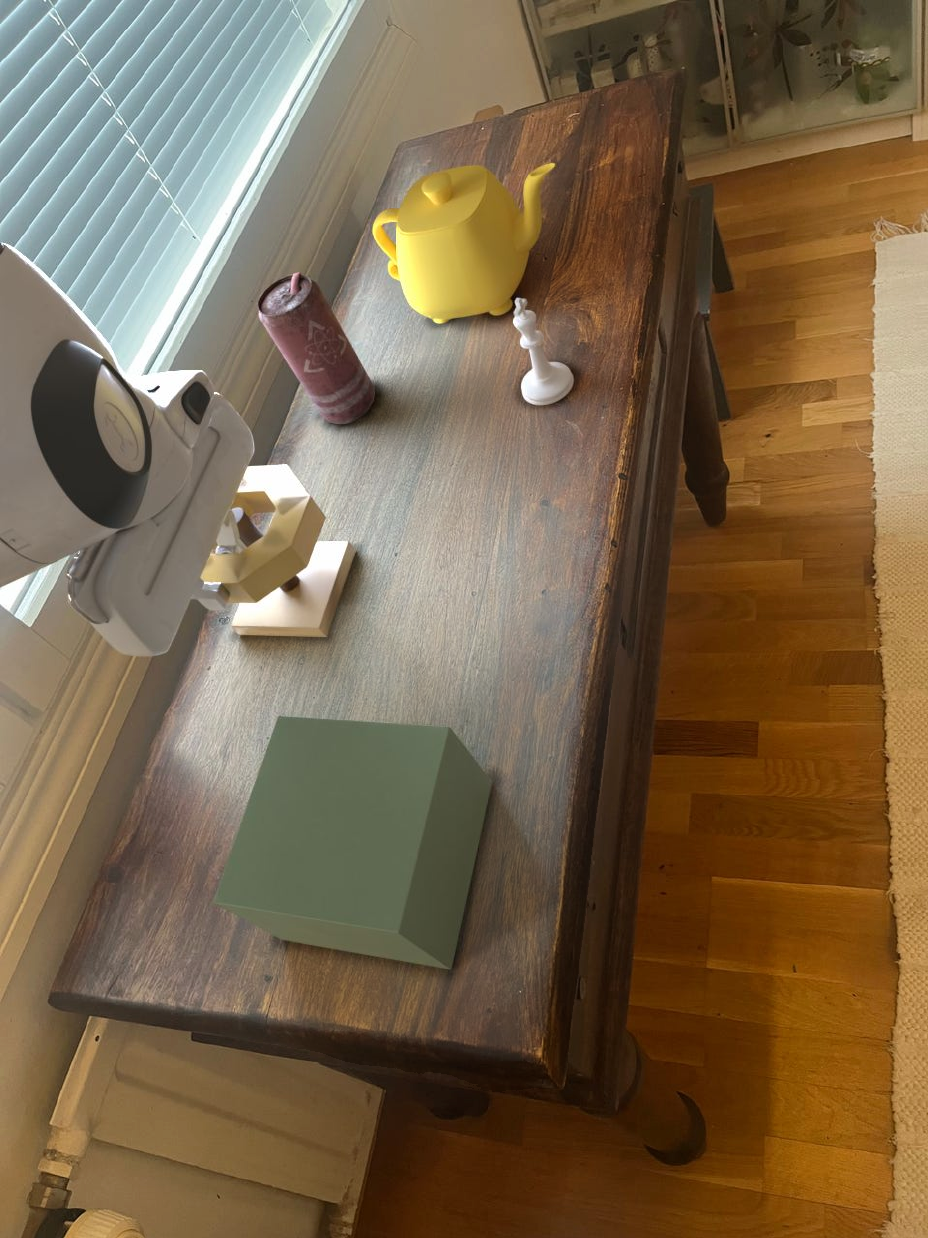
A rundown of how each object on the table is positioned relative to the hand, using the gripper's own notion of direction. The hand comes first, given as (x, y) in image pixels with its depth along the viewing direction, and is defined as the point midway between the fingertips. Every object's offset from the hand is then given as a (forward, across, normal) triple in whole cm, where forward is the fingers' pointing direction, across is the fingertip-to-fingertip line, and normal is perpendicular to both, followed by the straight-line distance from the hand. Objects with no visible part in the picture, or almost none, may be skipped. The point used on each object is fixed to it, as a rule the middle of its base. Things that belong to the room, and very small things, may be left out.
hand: (229, 580), depth 73 cm
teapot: (+9, +43, -10) cm, 45 cm away
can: (+9, +28, +2) cm, 29 cm away
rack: (+9, +5, 0) cm, 10 cm away
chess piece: (+9, +28, -19) cm, 35 cm away
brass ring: (+1, +4, 0) cm, 5 cm away
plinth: (+9, -18, -16) cm, 25 cm away
